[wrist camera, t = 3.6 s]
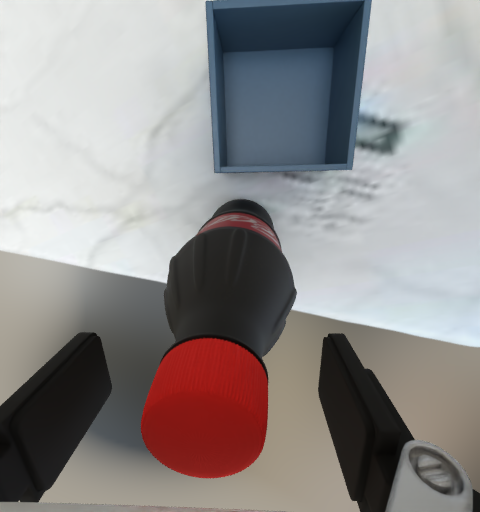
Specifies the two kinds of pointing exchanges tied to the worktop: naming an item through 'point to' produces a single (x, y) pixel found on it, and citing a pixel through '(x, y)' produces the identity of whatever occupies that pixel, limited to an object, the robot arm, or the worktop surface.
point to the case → (285, 83)
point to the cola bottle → (219, 344)
